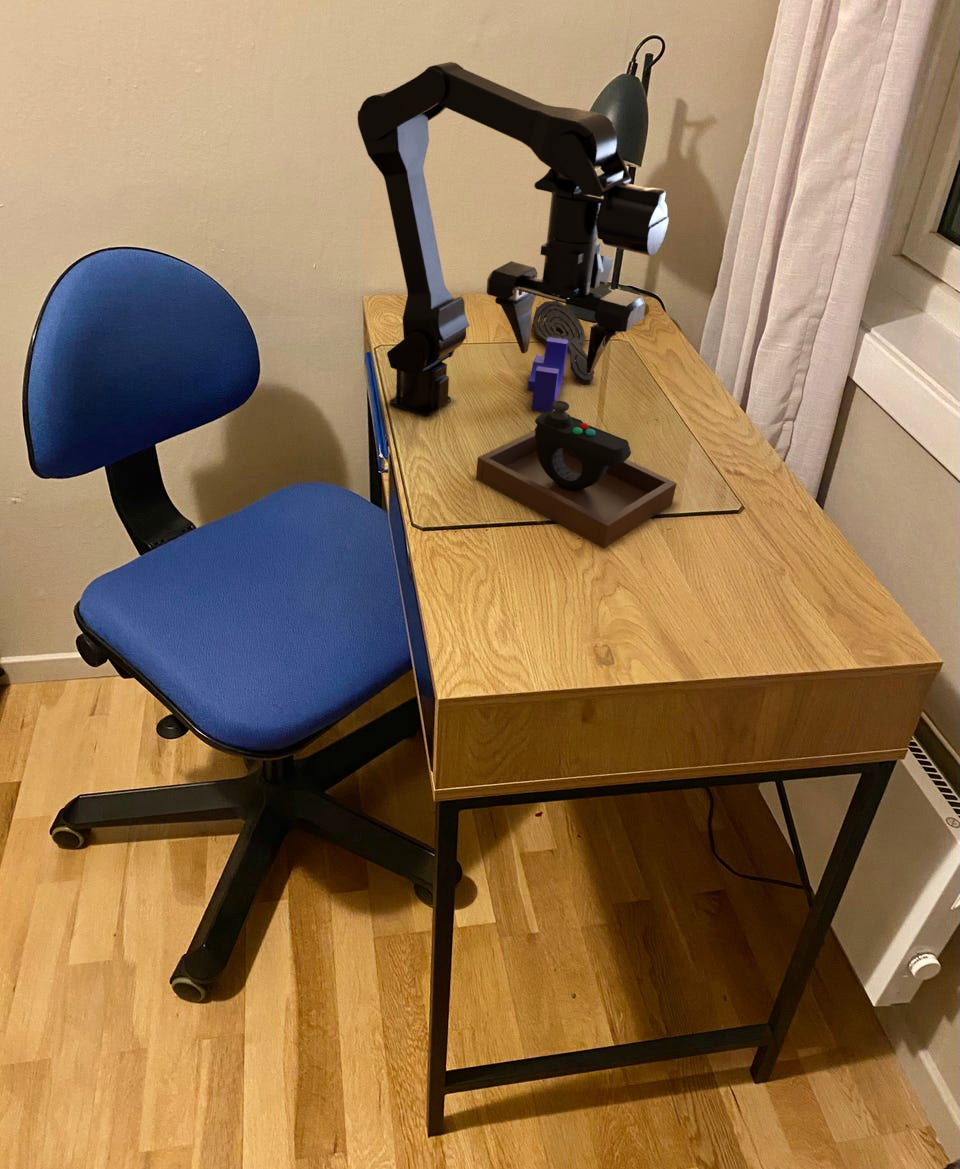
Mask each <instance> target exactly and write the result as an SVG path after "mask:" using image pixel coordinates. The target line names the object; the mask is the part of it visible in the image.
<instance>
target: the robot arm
mask: <svg viewBox="0 0 960 1169" xmlns="http://www.w3.org/2000/svg"><path fill="white" fill-rule="evenodd" d="M447 109H448V110H450V111H451V112H454V113H456V114H458V115H461V116H463V117H466V118H468V119H470V120H472V121H474V122H476V123H479V124H481V125H483V126H485V127H487V128H490V129H492V130H494V131H496V132H498V133H501V134H502V135H505V136H507V137H509V138H512V139H514V140H516V141H518V142H520V143H522V144H523V145H525V146H526V147H527V148H529V149H530V150H531V151H532V152H533V154H534V155H535V156H536V158H537V159H538V160H539V161H540V162H541V163H543V164H544V165H546V166H547V167H549V169H548V171H547V172H546V174H545V175H544V176H543V177H541V178H540V179H538V180H537V181H536V182H534V189H536V190H538V191H544V192H548V193H551V197H550V205H549V206H550V207H549V216H548V226H547V235H546V242H545V243H544V244H542V245H541V246H540V253H539V254H540V256H544V263H543V272H542V278H538V271H537V269H536V267H535V266H531V265H527V264H524V263H520V262H517V261H512V260H511V261H509V262H506V263H505V264H502V265H500V266H499V267H497V268H496V269H493V270H492V271H491V272H490V273H489V275H488V277H487V280H486V295H488V296H492V297H495V300H494V301H495V302H494V303H495V304H497V305H500V307H501V309H502V310H503V313H504V314H505V317H506V318H507V320H508V322H509V324H510V327H511V330H512V332H513V334H514V337H515V340H516V342H517V345H518V348H519V351H520V353H521V354H526V353H528V352H529V347H530V343H531V342H530V341H531V331H532V330H531V328H532V316H533V315H532V311H533V305H534V303H535V301H536V297H541V298H544V299H545V298H546V299H547V298H548V299H547V300H551V301H558V302H560V303H562V304H565V305H568V306H569V305H570V306H573V307H577V308H580V309H583V310H587V311H591V312H594V317H593V318H594V320H595V322H596V323H595V324H593V325H592V326H590V331H589V340H588V348H587V363H586V365H587V373H589V374H590V373H591V372H592V371H593V370H594V371H595V368H596V366H597V365H598V363H599V361H600V359H601V357H602V355H603V353H604V351H605V349H606V347H607V346H608V345H609V342H610V340H611V339H612V338H613V337H615V336H616V335H618V334H619V333H626V332H627V331H629V330H630V329H632V328H633V327H634V326H636V325H637V324H638V323H639V322H641V321H642V320H643V319H644V318H645V311H646V303H645V300H644V297H643V296H642V295H640V294H636V293H633V292H630V291H626V290H621V289H618V288H615V289H613V290H611V291H610V292H609V293H608V294H606V295H601V294H597V293H593V292H591V291H590V290H591V289H595V290H596V289H597V288H598V287H599V286H600V284H601V285H604V286H607V285H608V281H609V278H610V274H611V270H612V268H613V263H614V258H612V257H608V256H605V255H601V242H598V240H601V241H602V243H603V244H604V245H605V246H608V247H613V248H617V249H620V250H625V251H629V252H633V253H637V254H640V255H645V256H649V257H654V256H655V255H656V254H657V253H658V252H659V250H660V248H661V247H662V244H663V242H664V239H665V237H666V233H667V230H668V226H669V217H668V205H667V203H666V201H665V200H666V193H667V191H666V189H664V188H659V187H645V186H640V185H636V184H632V183H631V181H632V177H631V175H630V173H629V171H628V168H627V166H626V164H625V161H624V159H623V157H622V154H621V152H620V149H619V148H618V145H617V144H618V139H617V132H616V130H615V128H614V122H613V121H612V120H611V119H610V118H608V117H607V116H606V115H604V114H603V113H599V112H594V111H591V110H590V111H589V110H584V109H579V108H574V107H573V108H572V107H565V106H563V107H562V106H555V105H554V106H553V105H550V104H549V105H548V104H545V103H542V102H540V101H537V100H535V99H534V98H531V97H529V96H527V95H525V94H522V93H519V92H517V91H515V90H513V89H510V88H508V87H506V86H503V85H501V84H499V83H497V82H495V81H492V80H490V79H488V78H485V77H483V76H481V75H478V74H476V73H474V72H472V71H470V70H467V69H465V68H464V67H463V66H461V65H460V64H459V63H457V62H453V61H448V62H443V63H438V64H434V65H430V66H428V67H427V68H426V69H425V70H424V71H422V72H421V73H420V74H418V75H417V76H416V77H414V78H412V79H410V80H408V81H407V82H405V83H402V84H401V85H399V86H397V87H395V88H394V89H392V90H390V91H387V92H381V93H377V94H372V95H370V96H368V97H366V99H365V100H364V101H363V102H362V103H361V106H360V108H359V110H358V111H357V117H356V118H357V119H356V120H357V126H358V130H359V133H360V135H361V139H362V141H363V145H364V147H365V150H366V153H367V155H368V157H369V158H370V160H371V161H372V162H373V164H374V165H375V167H376V168H377V170H379V172H380V173H381V174H382V176H383V180H384V183H385V188H386V194H387V198H388V203H389V208H390V214H391V218H392V223H393V228H394V232H395V237H396V242H397V247H398V251H399V256H400V262H401V266H402V271H403V277H404V282H405V286H406V292H407V297H406V301H405V305H404V311H403V313H402V334H403V339H402V340H401V341H399V342H398V343H397V344H396V345H395V346H393V347H392V348H391V349H390V350H388V351H387V352H386V356H387V360H388V363H389V367H390V368H391V369H393V370H395V371H396V379H395V380H396V382H395V383H396V385H395V386H396V389H395V390H396V392H395V397H393V398H391V399H390V400H389V405H390V406H393V407H396V408H398V409H401V410H404V411H406V412H407V411H408V412H409V413H412V414H416V415H418V416H421V417H425V418H429V417H430V416H432V415H433V414H435V413H436V412H438V411H439V410H441V409H442V408H444V407H445V406H447V405H448V404H449V403H451V402H452V397H451V396H449V388H450V387H449V385H450V377H449V375H447V373H448V371H447V370H448V364H447V363H445V362H444V361H446V360H447V359H448V358H452V357H453V356H454V353H455V351H456V350H457V349H458V348H459V347H461V346H462V344H463V343H464V341H465V340H466V338H467V328H469V327H470V323H469V321H468V319H467V316H466V308H465V307H466V306H465V299H464V298H463V296H457V297H454V296H453V294H452V293H451V292H450V291H449V290H448V288H447V287H446V285H445V280H444V274H443V269H442V264H441V259H440V253H439V247H438V242H437V237H436V232H435V226H434V220H433V215H432V209H431V205H430V200H429V194H428V189H427V183H426V178H425V172H424V171H425V170H424V165H425V162H426V161H425V160H426V157H427V153H428V147H429V142H430V136H429V135H430V134H429V133H430V132H429V121H431V120H432V119H434V118H435V117H437V116H438V115H441V113H443V112H444V111H445V110H447ZM599 169H600V170H601V171H602V172H603V173H601V174H599V175H598V173H597V170H599ZM597 239H598V240H597Z"/></svg>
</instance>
